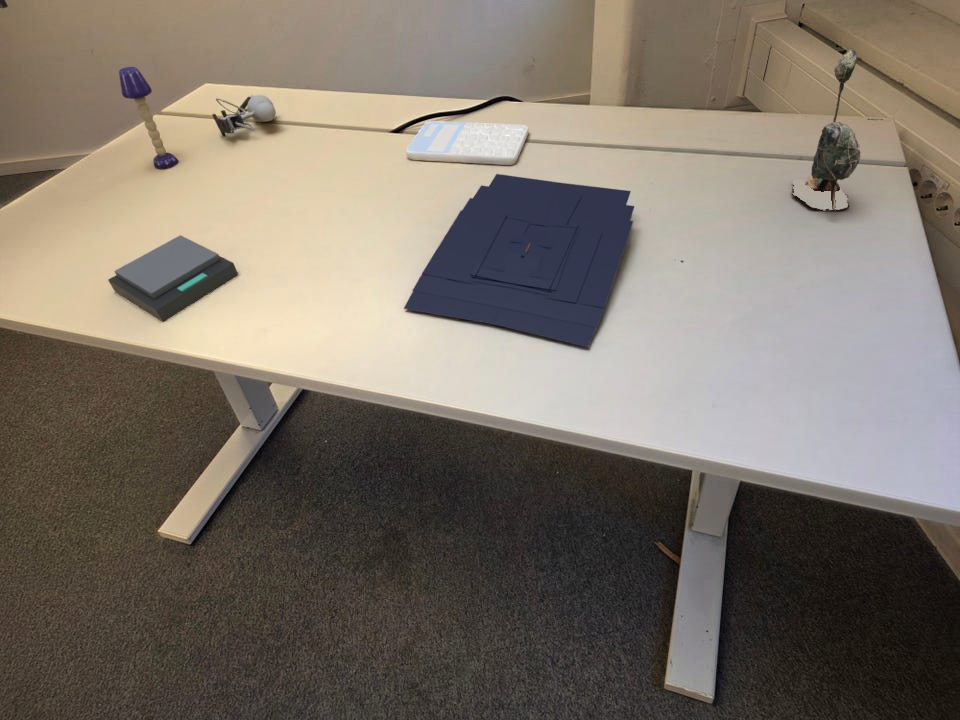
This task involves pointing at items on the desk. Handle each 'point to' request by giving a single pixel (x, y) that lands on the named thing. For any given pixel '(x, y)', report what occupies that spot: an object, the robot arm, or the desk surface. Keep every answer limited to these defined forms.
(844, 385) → the desk surface
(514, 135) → the calculator
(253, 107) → the clip-on lamp
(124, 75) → the toy lamp
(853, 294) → the desk surface
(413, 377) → the desk surface
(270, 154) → the desk surface
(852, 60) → the grey stone sculpture
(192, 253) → the scale
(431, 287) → the navy flat block
